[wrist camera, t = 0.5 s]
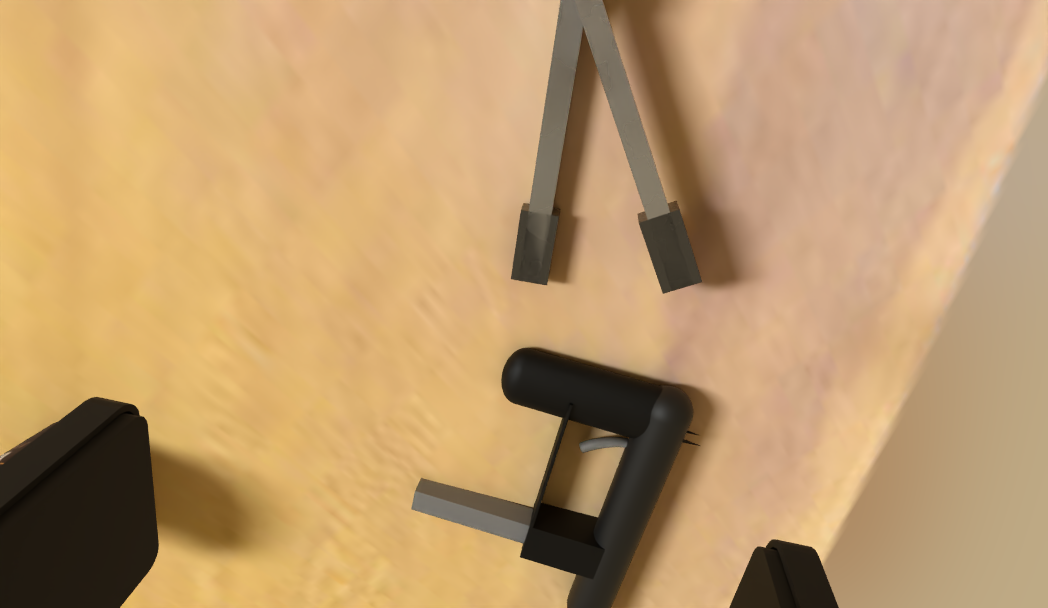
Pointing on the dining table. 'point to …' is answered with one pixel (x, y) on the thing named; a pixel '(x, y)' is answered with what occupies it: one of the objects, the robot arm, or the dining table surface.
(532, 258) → the tongs fixed arm
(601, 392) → the door handle
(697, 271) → the tongs hinged arm
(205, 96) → the dining table surface
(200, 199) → the dining table surface
